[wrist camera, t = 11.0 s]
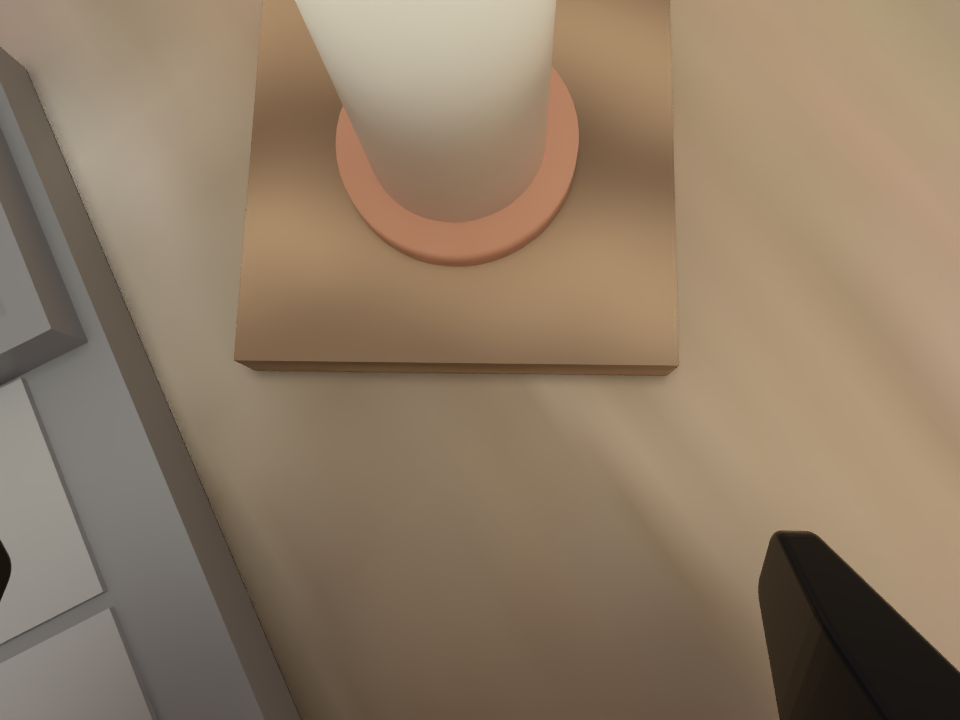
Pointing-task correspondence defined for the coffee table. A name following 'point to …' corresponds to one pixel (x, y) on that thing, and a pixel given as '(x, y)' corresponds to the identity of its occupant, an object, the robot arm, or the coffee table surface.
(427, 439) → the coffee table surface
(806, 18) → the coffee table surface
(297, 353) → the walnut board
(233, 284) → the coffee table surface
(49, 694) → the grey boxy piece
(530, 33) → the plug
